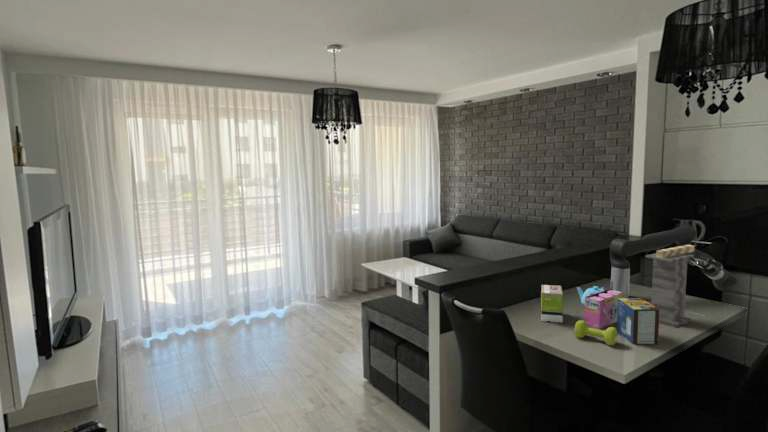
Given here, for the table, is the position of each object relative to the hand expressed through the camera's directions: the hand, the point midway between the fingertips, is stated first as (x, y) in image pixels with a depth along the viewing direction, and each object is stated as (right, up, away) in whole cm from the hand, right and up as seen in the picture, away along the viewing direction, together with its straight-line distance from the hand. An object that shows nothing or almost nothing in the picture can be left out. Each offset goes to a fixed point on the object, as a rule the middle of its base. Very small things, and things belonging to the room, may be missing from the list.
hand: (698, 258), depth 215 cm
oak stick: (-19, +3, -10) cm, 21 cm away
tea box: (-75, -30, -1) cm, 81 cm away
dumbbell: (-67, -33, -30) cm, 81 cm away
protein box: (-48, -32, -28) cm, 65 cm away
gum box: (-52, -30, -9) cm, 61 cm away
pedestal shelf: (-22, -29, -9) cm, 37 cm away
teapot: (-45, -27, +14) cm, 55 cm away
